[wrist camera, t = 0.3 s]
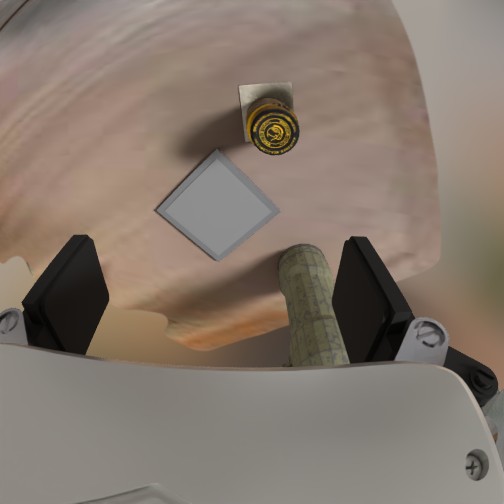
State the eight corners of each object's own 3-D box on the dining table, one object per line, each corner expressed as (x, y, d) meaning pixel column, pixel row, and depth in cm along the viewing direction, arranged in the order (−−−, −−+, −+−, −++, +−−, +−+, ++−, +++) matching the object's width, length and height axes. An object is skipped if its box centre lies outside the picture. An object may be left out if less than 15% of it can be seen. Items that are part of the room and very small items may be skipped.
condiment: (245, 141, 41) (246, 165, 31) (238, 85, 37) (237, 89, 27) (295, 137, 41) (312, 160, 31) (291, 81, 36) (308, 84, 26)
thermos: (340, 264, 54) (404, 444, 25) (285, 293, 57) (312, 474, 28) (320, 230, 50) (392, 429, 21) (261, 262, 53) (278, 464, 24)
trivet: (157, 208, 47) (156, 210, 46) (217, 147, 42) (216, 149, 41) (219, 259, 53) (218, 262, 52) (280, 209, 48) (280, 212, 47)
